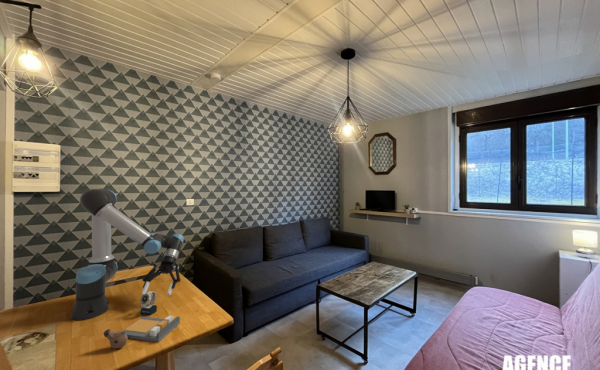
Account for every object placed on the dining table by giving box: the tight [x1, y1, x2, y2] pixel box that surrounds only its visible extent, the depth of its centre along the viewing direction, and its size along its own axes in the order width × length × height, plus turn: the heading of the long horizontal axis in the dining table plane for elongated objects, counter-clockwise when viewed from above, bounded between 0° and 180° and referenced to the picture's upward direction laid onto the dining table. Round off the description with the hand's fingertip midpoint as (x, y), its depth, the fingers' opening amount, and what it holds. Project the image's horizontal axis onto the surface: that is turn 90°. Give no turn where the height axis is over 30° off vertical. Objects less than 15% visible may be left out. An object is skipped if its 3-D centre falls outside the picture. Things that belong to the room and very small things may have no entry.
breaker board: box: [122, 315, 181, 343], centre depth 112 cm, size 20×14×4 cm
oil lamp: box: [103, 328, 129, 349], centre depth 100 cm, size 9×4×8 cm, turn 100°
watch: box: [139, 290, 158, 317], centre depth 127 cm, size 6×8×11 cm
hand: (155, 294), depth 130 cm, fingers open, 13 cm apart
